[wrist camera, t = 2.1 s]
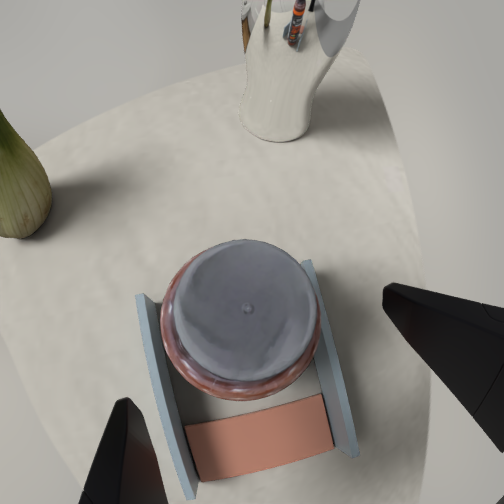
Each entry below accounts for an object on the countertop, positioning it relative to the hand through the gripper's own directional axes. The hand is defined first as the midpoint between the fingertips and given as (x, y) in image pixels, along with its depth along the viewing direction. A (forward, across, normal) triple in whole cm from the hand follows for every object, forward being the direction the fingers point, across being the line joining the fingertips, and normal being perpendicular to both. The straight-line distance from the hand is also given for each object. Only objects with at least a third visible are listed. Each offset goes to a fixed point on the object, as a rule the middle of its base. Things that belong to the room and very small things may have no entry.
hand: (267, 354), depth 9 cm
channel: (+6, +1, +8) cm, 10 cm away
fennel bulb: (+18, +12, -3) cm, 22 cm away
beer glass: (+19, -10, -4) cm, 22 cm away
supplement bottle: (+8, 0, +6) cm, 10 cm away
